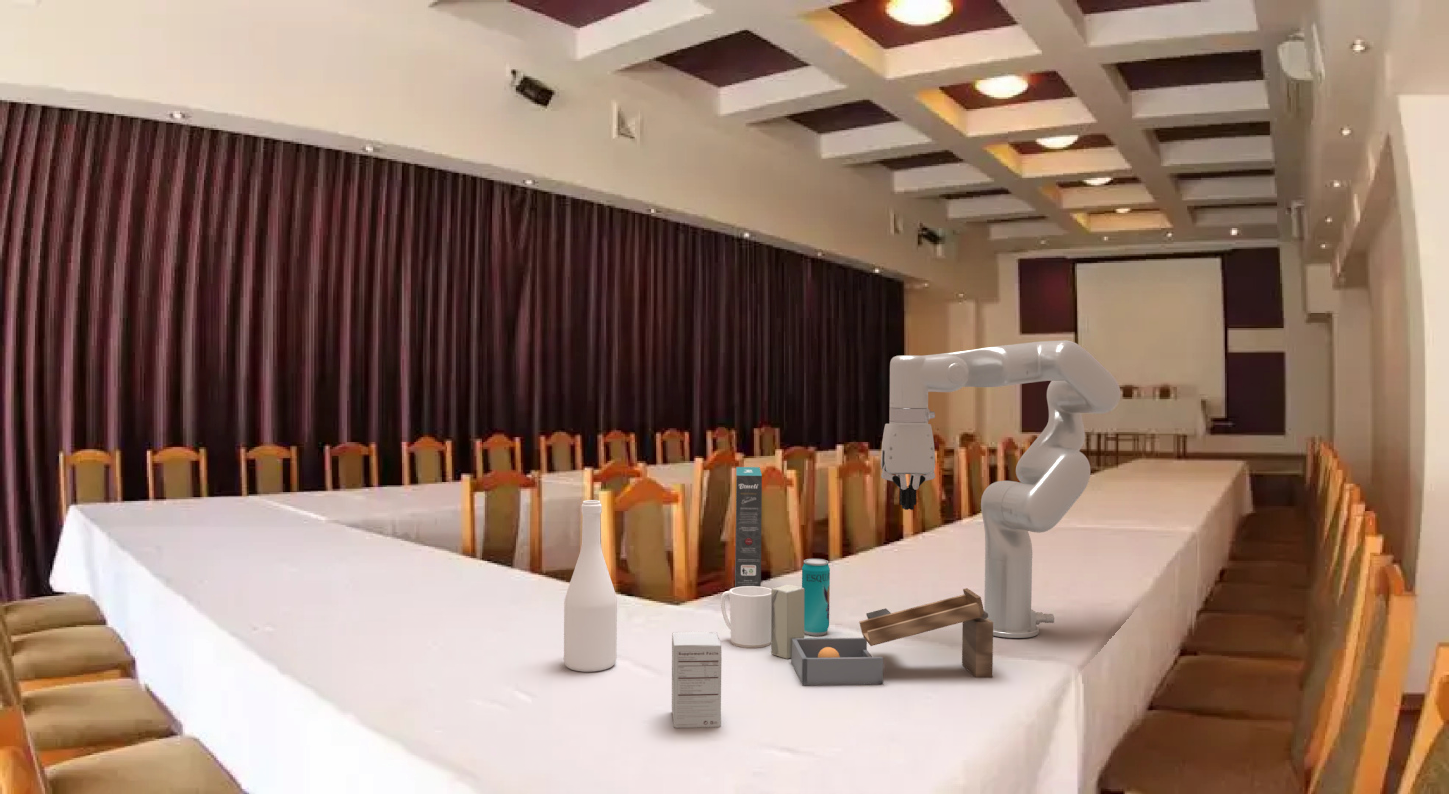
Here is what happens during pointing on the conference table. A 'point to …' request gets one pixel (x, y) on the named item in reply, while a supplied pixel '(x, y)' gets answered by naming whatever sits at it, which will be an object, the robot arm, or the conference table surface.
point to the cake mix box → (748, 526)
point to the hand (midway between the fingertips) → (907, 508)
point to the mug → (749, 616)
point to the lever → (921, 618)
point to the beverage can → (816, 596)
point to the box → (786, 618)
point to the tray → (835, 662)
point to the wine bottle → (590, 602)
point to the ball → (828, 653)
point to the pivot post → (978, 647)
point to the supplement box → (696, 679)
